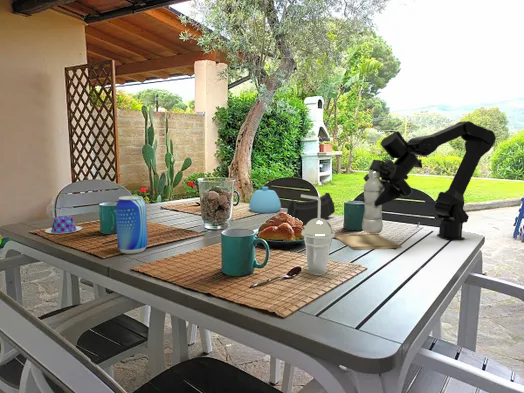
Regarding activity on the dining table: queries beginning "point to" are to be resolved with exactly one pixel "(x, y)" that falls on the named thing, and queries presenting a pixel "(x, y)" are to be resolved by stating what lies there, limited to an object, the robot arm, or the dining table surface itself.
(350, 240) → the mat
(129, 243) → the beer can
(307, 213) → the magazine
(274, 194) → the sugar bowl
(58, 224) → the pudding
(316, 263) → the cup with straw
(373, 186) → the plastic bottle
